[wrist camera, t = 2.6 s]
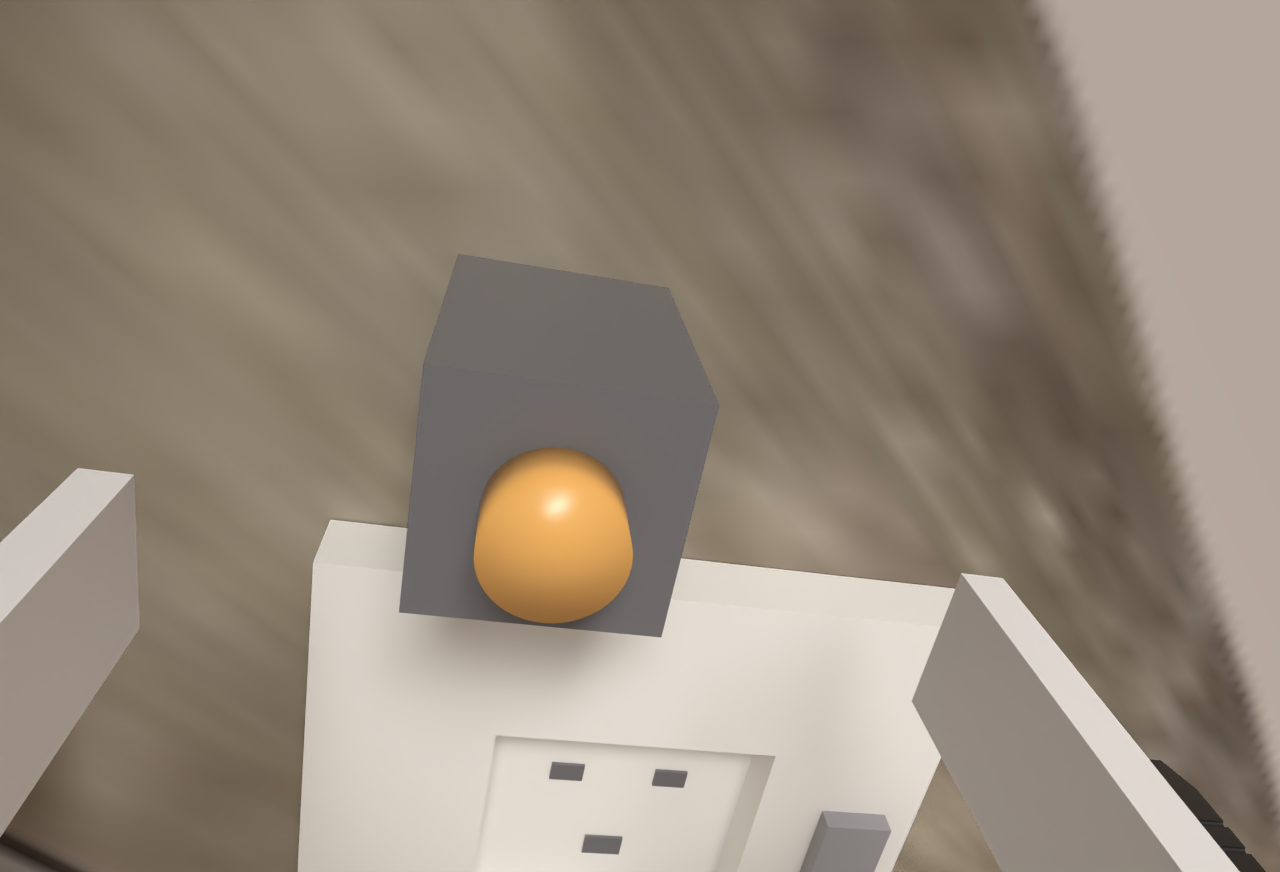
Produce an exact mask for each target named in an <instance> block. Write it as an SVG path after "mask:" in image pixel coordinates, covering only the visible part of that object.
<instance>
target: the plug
mask: <svg viewBox="0 0 1280 872" xmlns="http://www.w3.org/2000/svg"><path fill="white" fill-rule="evenodd" d="M718 407H719V403H718V401H717V399H716V396H715V394H714V392H713V389H712V387H711V385H710V382H709V380H708V378H707V376H706V373H705V371H704V369H703V366H702V364H701V362H700V359H699V357H698V355H697V352H696V350H695V348H694V346H693V343H692V341H691V339H690V336H689V334H688V332H687V329H686V327H685V325H684V322H683V320H682V318H681V316H680V313H679V311H678V309H677V306H676V304H675V302H674V299H673V297H672V295H671V292H670V290H669V288H665V287H659V286H653V285H646V284H640V283H634V282H628V281H622V280H616V279H609V278H603V277H597V276H591V275H585V274H578V273H572V272H566V271H560V270H554V269H548V268H541V267H535V266H529V265H523V264H517V263H510V262H504V261H498V260H492V259H486V258H480V257H473V256H467V255H461V254H459V255H458V258H457V261H456V264H455V267H454V270H453V273H452V276H451V280H450V283H449V286H448V289H447V292H446V295H445V298H444V301H443V304H442V307H441V311H440V314H439V317H438V320H437V323H436V326H435V329H434V332H433V335H432V338H431V342H430V345H429V348H428V351H427V354H426V357H425V360H424V364H423V374H422V384H421V394H420V404H419V414H418V424H417V435H416V445H415V455H414V465H413V475H412V485H411V495H410V505H409V515H408V525H407V535H406V545H405V556H404V566H403V576H402V586H401V596H400V606H399V613H410V614H420V615H431V616H441V617H452V618H462V619H473V620H483V621H494V622H504V623H514V624H525V625H535V626H546V627H556V628H567V629H577V630H588V631H598V632H609V633H619V634H630V635H640V636H651V637H662V633H663V629H664V625H665V621H666V617H667V613H668V609H669V605H670V601H671V597H672V593H673V589H674V585H675V581H676V577H677V572H678V568H679V564H680V560H681V556H682V552H683V548H684V544H685V540H686V536H687V532H688V528H689V524H690V520H691V516H692V512H693V508H694V504H695V500H696V496H697V492H698V488H699V484H700V480H701V476H702V472H703V468H704V464H705V460H706V456H707V452H708V448H709V444H710V440H711V436H712V431H713V427H714V423H715V419H716V415H717V411H718Z"/></svg>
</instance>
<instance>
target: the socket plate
mask: <svg viewBox="0 0 1280 872" xmlns="http://www.w3.org/2000/svg"><path fill="white" fill-rule="evenodd" d="M406 535H407V528H402V527H392V526H383V525H374V524H365V523H356V522H347V521H338V520H330V522H329V524H328V527H327V529H326V532H325V534H324V537H323V539H322V542H321V544H320V547H319V549H318V552H317V554H316V557H315V559H314V562H313V576H312V596H311V616H310V635H309V655H308V675H307V695H306V715H305V735H304V755H303V775H302V795H301V815H300V834H299V854H298V872H891V871H892V869H893V867H894V864H895V862H896V860H897V857H898V855H899V853H900V851H901V848H902V846H903V844H904V841H905V839H906V837H907V834H908V832H909V830H910V828H911V825H912V823H913V821H914V818H915V816H916V814H917V811H918V809H919V807H920V805H921V802H922V800H923V798H924V795H925V793H926V791H927V788H928V786H929V784H930V782H931V779H932V777H933V775H934V772H935V770H936V768H937V765H938V763H939V761H940V759H941V756H940V754H939V752H938V750H937V748H936V746H935V744H934V742H933V741H932V739H931V737H930V735H929V733H928V731H927V729H926V727H925V725H924V724H923V722H922V720H921V718H920V716H919V714H918V712H917V710H916V708H915V707H914V705H913V703H912V699H913V696H914V694H915V691H916V688H917V686H918V683H919V681H920V678H921V676H922V673H923V670H924V668H925V665H926V663H927V660H928V658H929V655H930V652H931V650H932V647H933V645H934V642H935V640H936V637H937V635H938V632H939V629H940V627H941V624H942V622H943V619H944V617H945V614H946V611H947V609H948V606H949V604H950V601H951V599H952V596H953V593H954V591H955V589H953V588H944V587H935V586H926V585H917V584H908V583H899V582H890V581H881V580H872V579H863V578H853V577H844V576H835V575H826V574H817V573H808V572H799V571H790V570H781V569H772V568H763V567H754V566H745V565H736V564H727V563H718V562H709V561H700V560H691V559H682V558H681V560H680V564H679V568H678V572H677V577H676V581H675V585H674V589H673V593H672V597H671V601H670V605H669V609H668V613H667V617H666V621H665V625H664V629H663V633H662V637H651V636H640V635H630V634H619V633H609V632H598V631H588V630H577V629H567V628H556V627H546V626H535V625H525V624H514V623H504V622H494V621H483V620H473V619H462V618H452V617H441V616H431V615H420V614H410V613H399V606H400V596H401V586H402V576H403V566H404V556H405V545H406Z"/></svg>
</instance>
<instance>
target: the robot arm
mask: <svg viewBox="0 0 1280 872" xmlns="http://www.w3.org/2000/svg"><path fill="white" fill-rule="evenodd" d="M139 629H140V620H139V593H138V565H137V538H136V510H135V482H134V475H132V474H123V473H115V472H106V471H98V470H90V469H81V468H77V469H76V470H75V471H74V472H73V473H72V474H71V475H70V476H69V477H68V478H67V479H66V480H65V481H64V482H63V483H62V484H61V485H60V486H59V487H58V488H57V489H56V490H55V491H53V492H52V493H51V494H50V495H49V496H48V497H47V498H46V499H45V500H44V501H43V502H42V503H41V504H40V505H39V506H38V507H37V508H36V509H35V510H34V511H33V512H32V513H31V514H30V515H28V516H27V517H26V518H25V519H24V520H23V521H22V522H21V523H20V524H19V525H18V526H17V527H16V528H15V529H14V530H13V531H12V532H11V533H10V534H9V535H8V536H7V537H6V538H4V539H3V540H2V541H1V542H0V837H1V836H2V834H3V833H4V831H5V830H6V828H7V827H8V825H9V824H10V822H11V821H12V819H13V818H14V816H15V815H16V813H17V812H18V810H19V809H20V807H21V806H22V804H23V803H24V801H25V800H26V798H27V797H28V795H29V794H30V792H31V791H32V789H33V788H34V786H35V785H36V783H37V782H38V780H39V779H40V777H41V776H42V774H43V773H44V771H45V770H46V768H47V767H48V765H49V764H50V762H51V761H52V759H53V758H54V756H55V755H56V753H57V752H58V750H59V749H60V747H61V746H62V744H63V743H64V741H65V740H66V738H67V737H68V735H69V734H70V732H71V731H72V729H73V728H74V726H75V725H76V723H77V722H78V720H79V719H80V717H81V716H82V714H83V713H84V711H85V710H86V708H87V707H88V705H89V704H90V702H91V701H92V699H93V698H94V696H95V695H96V693H97V692H98V690H99V689H100V687H101V686H102V684H103V683H104V681H105V680H106V678H107V677H108V675H109V674H110V672H111V671H112V669H113V668H114V666H115V665H116V663H117V662H118V660H119V659H120V657H121V656H122V654H123V653H124V651H125V650H126V648H127V647H128V645H129V644H130V642H131V641H132V639H133V638H134V636H135V635H136V633H137V632H138V630H139ZM912 703H913V705H914V707H915V708H916V710H917V712H918V714H919V716H920V718H921V720H922V722H923V724H924V725H925V727H926V729H927V731H928V733H929V735H930V737H931V739H932V741H933V742H934V744H935V746H936V748H937V750H938V752H939V754H940V756H941V758H942V759H943V761H944V763H945V765H946V767H947V769H948V771H949V773H950V774H951V776H952V778H953V780H954V782H955V784H956V786H957V788H958V790H959V791H960V793H961V795H962V797H963V799H964V801H965V803H966V805H967V807H968V808H969V810H970V812H971V814H972V816H973V818H974V820H975V822H976V824H977V825H978V827H979V829H980V831H981V833H982V835H983V837H984V839H985V841H986V842H987V844H988V846H989V848H990V850H991V852H992V854H993V856H994V858H995V859H996V861H997V863H998V865H999V867H1000V869H1001V871H1002V872H1266V871H1265V870H1264V869H1263V868H1262V867H1261V866H1260V864H1259V863H1258V862H1257V861H1256V860H1255V858H1254V857H1253V856H1252V855H1251V854H1246V852H1245V846H1244V845H1243V844H1242V843H1241V842H1240V840H1239V839H1238V838H1237V837H1236V836H1235V835H1234V833H1233V832H1232V831H1231V830H1230V829H1229V828H1228V827H1224V826H1223V820H1222V819H1221V818H1220V817H1219V815H1218V814H1217V813H1216V812H1215V811H1214V809H1213V808H1212V807H1211V806H1210V805H1209V803H1208V802H1207V801H1206V800H1205V799H1204V798H1203V796H1202V795H1201V794H1200V793H1199V792H1198V790H1197V789H1196V788H1194V787H1193V786H1192V785H1191V784H1189V783H1188V782H1187V781H1186V780H1184V779H1183V778H1182V777H1181V776H1179V775H1178V774H1177V773H1176V772H1174V771H1173V770H1172V769H1171V768H1169V767H1168V766H1167V765H1166V764H1164V763H1163V762H1162V761H1161V760H1149V759H1148V758H1147V756H1146V755H1145V754H1144V753H1143V751H1142V750H1141V749H1140V748H1139V746H1138V745H1137V744H1136V743H1135V741H1134V740H1133V739H1132V738H1131V736H1130V735H1129V734H1128V733H1127V732H1126V730H1125V729H1124V728H1123V727H1122V725H1121V724H1120V723H1119V722H1118V720H1117V719H1116V718H1115V717H1114V715H1113V714H1112V713H1111V712H1110V710H1109V709H1108V708H1107V707H1106V706H1105V704H1104V703H1103V702H1102V701H1101V699H1100V698H1099V697H1098V696H1097V694H1096V693H1095V692H1094V691H1093V689H1092V688H1091V687H1090V686H1089V684H1088V683H1087V682H1086V681H1085V680H1084V678H1083V677H1082V676H1081V675H1080V673H1079V672H1078V671H1077V670H1076V668H1075V667H1074V666H1073V665H1072V663H1071V662H1070V661H1069V660H1068V658H1067V657H1066V656H1065V655H1064V654H1063V652H1062V651H1061V650H1060V649H1059V647H1058V646H1057V645H1056V644H1055V642H1054V641H1053V640H1052V639H1051V637H1050V636H1049V635H1048V634H1047V632H1046V631H1045V630H1044V629H1043V628H1042V626H1041V625H1040V624H1039V623H1038V621H1037V620H1036V619H1035V618H1034V616H1033V615H1032V614H1031V613H1030V611H1029V610H1028V609H1027V608H1026V606H1025V605H1024V604H1023V603H1022V602H1021V600H1020V599H1019V598H1018V597H1017V595H1016V594H1015V593H1014V592H1013V590H1012V589H1011V588H1010V587H1009V585H1008V584H1007V583H1006V582H1005V580H1004V579H1003V578H996V577H988V576H979V575H971V574H963V573H961V576H960V578H959V581H958V583H957V586H956V588H955V591H954V593H953V596H952V599H951V601H950V604H949V606H948V609H947V611H946V614H945V617H944V619H943V622H942V624H941V627H940V629H939V632H938V635H937V637H936V640H935V642H934V645H933V647H932V650H931V652H930V655H929V658H928V660H927V663H926V665H925V668H924V670H923V673H922V676H921V678H920V681H919V683H918V686H917V688H916V691H915V694H914V696H913V699H912Z"/></svg>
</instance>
